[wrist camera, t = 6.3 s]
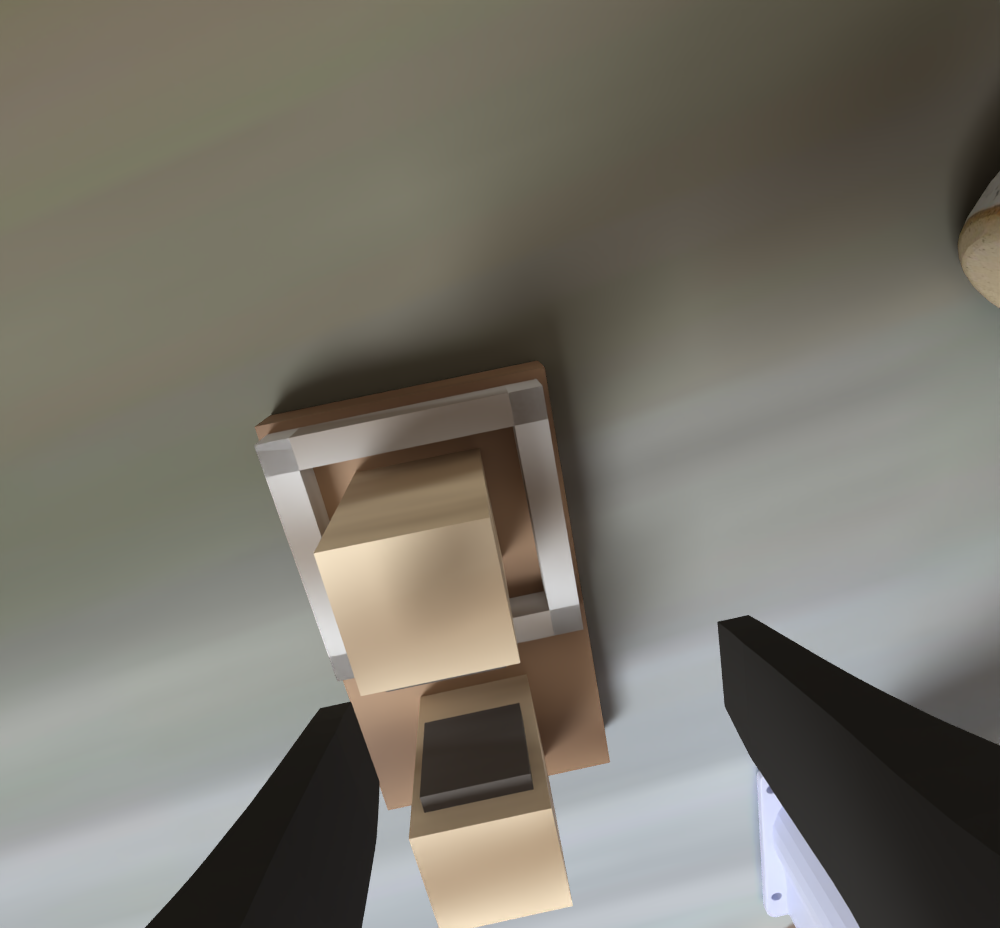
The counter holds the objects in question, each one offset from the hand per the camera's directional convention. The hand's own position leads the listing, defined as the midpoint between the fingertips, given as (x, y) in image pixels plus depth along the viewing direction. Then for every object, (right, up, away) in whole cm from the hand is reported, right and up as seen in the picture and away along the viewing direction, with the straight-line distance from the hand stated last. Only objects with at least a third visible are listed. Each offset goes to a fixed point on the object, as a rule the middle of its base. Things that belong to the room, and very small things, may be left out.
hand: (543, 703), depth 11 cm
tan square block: (-3, +3, +8) cm, 9 cm away
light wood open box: (-2, 0, +10) cm, 11 cm away
